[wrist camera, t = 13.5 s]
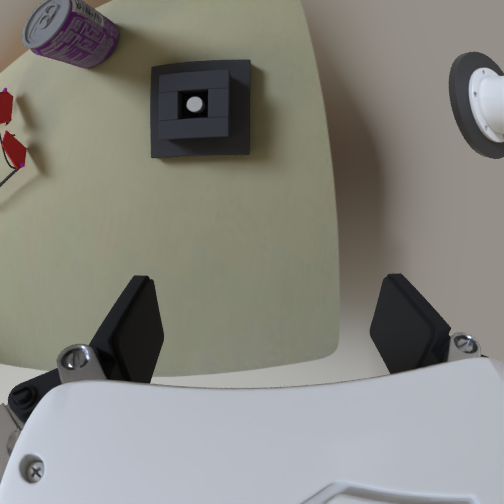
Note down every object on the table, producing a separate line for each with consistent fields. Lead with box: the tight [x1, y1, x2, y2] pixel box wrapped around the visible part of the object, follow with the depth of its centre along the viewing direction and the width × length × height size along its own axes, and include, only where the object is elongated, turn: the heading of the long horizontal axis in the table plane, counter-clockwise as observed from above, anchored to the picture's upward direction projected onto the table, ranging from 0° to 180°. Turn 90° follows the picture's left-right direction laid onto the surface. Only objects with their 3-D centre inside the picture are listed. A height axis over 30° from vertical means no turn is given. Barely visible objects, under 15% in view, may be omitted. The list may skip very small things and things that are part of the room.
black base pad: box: [150, 60, 250, 158], centre depth 26 cm, size 11×11×4 cm
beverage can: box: [22, 0, 118, 68], centre depth 18 cm, size 7×7×12 cm
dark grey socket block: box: [159, 70, 231, 140], centre depth 25 cm, size 7×7×3 cm
